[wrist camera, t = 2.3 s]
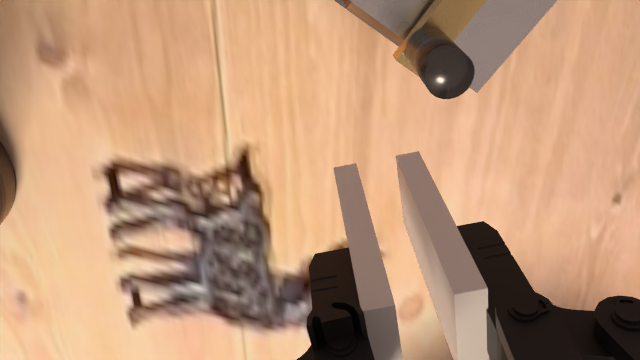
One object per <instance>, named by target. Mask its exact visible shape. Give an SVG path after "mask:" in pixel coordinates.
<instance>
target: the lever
mask: <svg viewBox="0 0 640 360" xmlns="http://www.w3.org/2000/svg"><path fill="white" fill-rule="evenodd" d="M486 1H487V0H434V2H433V3H432V4H431V6H430V7H429V8H428V9H427V11H426V12H425V13H424V15H423V16H422V17H421V19H420V20H419V21H418V23H417V24H416V25H415V26H414V28H413V29H412V30H411V32H410V33H409V34H408V36H407V37H406V38H405V40H404V41H403V42H402V44H401V45H400V46H399V47H398V49H397V50H396V51H395V53H394V54H393V56H394V58H395V59H396V61H398V62H399V63H401V64H402V65H403V66H405V67H406V68H408V69H409V70H410V71H412V72H413V73H415V74H416V75H418V76H419V77H420V78H421V80H422V81H423V83H424V84H425V85H426V87H427V88H428V90H429V91H430V92H431V93H432V94H433V95H434V96H436V97H438V98H441V99H451V98H455V97H458V96H459V95H461V94H463V93H464V92H465V91H466V90H467V89H468V88H469V87H470V85H471V83H472V81H473V79H474V74H475V69H474V65H473V62H472V60H471V59H470V58H469V57H468V56H467V55H466V54H465V53H464V52H463V51H462V50H461V49H460V48H459V47H458V46H457V45H456V44H455V43H454V40H455V39H456V38H457V37H458V35H459V34H460V33H461V32H462V30H463V29H464V28H465V27H466V25H467V24H468V23H469V22H470V21H471V19H472V18H473V17H474V16H475V14H476V13H477V12H478V11H479V9H480V8H481V7H482V6H483V4H484V3H485V2H486Z"/></svg>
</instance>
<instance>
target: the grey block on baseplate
mask: <svg viewBox="0 0 640 360" xmlns="http://www.w3.org/2000/svg"><path fill="white" fill-rule="evenodd" d="M350 1H351V2H352V3H354V4H355V5H357V6H358V7H359V8H361V9H362V10H363V11H365V12H366V13H368V14H369V15H370V16H372V17H373V18H374V19H376V20H377V21H379V22H380V23H381V24H383V25H384V26H386V27H387V28H388V29H390V30H391V31H392V32H394V33H395V34H397V35H398V36H399V37H401V38H402V39H403V40H405V38H406V37H407V36H408V34H409V33H410V32H411V30H412V29H413V28H414V26H415V25H416V24H417V23H418V21H419V20H420V19H421V17H422V16H423V15H424V13H425V12H426V11H427V9H428V8H429V7H430V6H431V4H432V3H433V2H434V0H350ZM556 1H557V0H487V1H486V2H485V3H484V4H483V6H482V7H481V8H480V9H479V11H478V12H477V13H476V14H475V16H474V17H473V18H472V19H471V21H470V22H469V23H468V24H467V25H466V27H465V28H464V29H463V30H462V32H461V33H460V34H459V35H458V37H457V38H456V39H455V40H454V43H455V44H456V45H457V46H458V47H459V48H460V49H461V50H462V51H463V52H464V53H465V54H466V55H467V56H468V57H469V58H470V59H471V60H472V62H473V65H474V69H475V74H474V79H473V81H472V83H471V85H470V88H471V89H472V90H474V91H475V92H478V91H479V90H480V89H481V88H482V87H483V85H484V84H485V83H486V82H487V81H488V80H489V79H490V77H491V76H492V75H493V74H494V73H495V72H496V70H497V69H498V68H499V67H500V66H501V65H502V63H503V62H504V61H505V60H506V59H507V58H508V57H509V55H510V54H511V53H512V52H513V51H514V50H515V48H516V47H517V46H518V45H519V44H520V43H521V42H522V40H523V39H524V38H525V37H526V36H527V35H528V33H529V32H530V31H531V30H532V29H533V28H534V27H535V25H536V24H537V23H538V22H539V21H540V20H541V18H542V17H543V16H544V15H545V14H546V13H547V12H548V10H549V9H550V8H551V7H552V6H553V5H554V3H555V2H556Z"/></svg>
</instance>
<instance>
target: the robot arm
mask: <svg viewBox="0 0 640 360" xmlns="http://www.w3.org/2000/svg"><path fill="white" fill-rule="evenodd" d="M396 161H397V170H398V178H399V187H400V195H401V204H402V212H403V221H404V225H405V227H406V230H407V233H408V236H409V238H410V241H411V244H412V247H413V249H414V252H415V255H416V258H417V260H418V263H419V266H420V269H421V272H422V274H423V277H424V280H425V283H426V285H427V288H428V291H429V294H430V296H431V299H432V302H433V305H434V307H435V310H436V313H437V316H438V318H439V321H440V324H441V327H442V330H443V332H444V335H445V338H446V341H447V343H448V346H449V349H450V352H451V354H452V357H453V360H489V357H490V359H491V360H640V300H639V299H636V298H633V297H627V296H614V297H608V298H606V299H604V300H602V301H600V302H599V303H598V305H597V307H596V309H595V311H584V310H571V309H564V308H560V307H557V306H554V305H553V304H552V303H551V302H550V301H549V299H547V298H545V297H544V296H542V295H540V294H538V293H535V291H534V290H533V289H532V287H531V285H530V284H529V282H528V280H527V279H526V277H525V275H524V274H523V272H522V271H521V269H520V267H519V266H518V264H517V262H516V261H515V259H514V257H513V256H512V255H511V253H510V251H509V249H508V248H507V246H506V245H505V243H504V241H503V239H502V238H501V236H500V235H499V233H498V231H497V230H495V229H494V228H492V227H491V226H490V225H488V224H487V223H485V222H484V221H482V222H477V223H472V224H466V225H461V226H456V224H455V222H454V220H453V218H452V216H451V214H450V212H449V210H448V208H447V206H446V205H445V203H444V201H443V199H442V197H441V195H440V193H439V191H438V189H437V187H436V185H435V183H434V181H433V179H432V177H431V175H430V173H429V171H428V169H427V167H426V165H425V163H424V161H423V159H422V157H421V155H420V153H419V151H418V152H413V153H408V154H403V155H397V156H396ZM334 173H335V178H336V184H337V189H338V194H339V200H340V205H341V210H342V215H343V221H344V226H345V231H346V236H347V242H348V247H349V248H344V249H339V250H333V251H328V252H323V253H317V254H315V255H314V257H313V259H312V261H311V264H310V266H309V273H310V285H311V297H312V311H311V312H310V314H309V316H308V317H307V330H308V334H309V337H310V341H311V346H310V348H309V349H308V350H307V352H306V353H305V354H303V355H302V356H301V357H300V358H298V359H297V360H403V359H402V352H401V345H400V338H399V331H398V323H397V316H396V309H395V304H394V300H393V296H392V293H391V289H390V286H389V282H388V278H387V275H386V271H385V267H384V264H383V260H382V256H381V253H380V249H379V245H378V242H377V238H376V234H375V231H374V227H373V223H372V220H371V216H370V212H369V209H368V205H367V201H366V198H365V194H364V190H363V187H362V183H361V179H360V176H359V172H358V168H357V165H356V164H350V165H345V166H340V167H335V168H334ZM14 197H15V176H14V171H13V168H12V165H11V162H10V159H9V157H8V155H7V153H6V151H5V149H4V147H3V146H2V144H1V143H0V224H1V223H2V222H3V221H4V219H5V218H6V216H7V215H8V213H9V211H10V210H11V207H12V205H13V201H14Z"/></svg>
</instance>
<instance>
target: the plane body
mask: <svg viewBox="0 0 640 360" xmlns="http://www.w3.org/2000/svg"><path fill="white" fill-rule="evenodd" d="M335 1H336V2H337V3H339V4H340V5H341V6H343V7H344V8H346V9H347V10H348V11H350V12H351V13H353V14H354V15H355V16H357V17H358V18H360V19H361V20H362V21H364V22H365V23H367V24H368V25H369V26H371V27H372V28H374V29H375V30H376V31H378V32H379V33H381V34H382V35H383V36H385V37H386V38H388V39H389V40H390V41H392V42H393V43H395V44H396V45H397V46H400V45H401V44H402V42H403V41H404V40H403V39H402V38H401V37H399V36H398V35H397V34H395V33H394V32H392V31H391V30H390V29H388V28H387V27H386V26H384V25H383V24H381V23H380V22H379V21H377V20H376V19H374V18H373V17H372V16H370V15H369V14H368V13H366V12H365V11H363V10H362V9H361V8H359V7H358V6H357V5H355V4H354V3H352V2H351V1H350V0H335Z"/></svg>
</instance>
